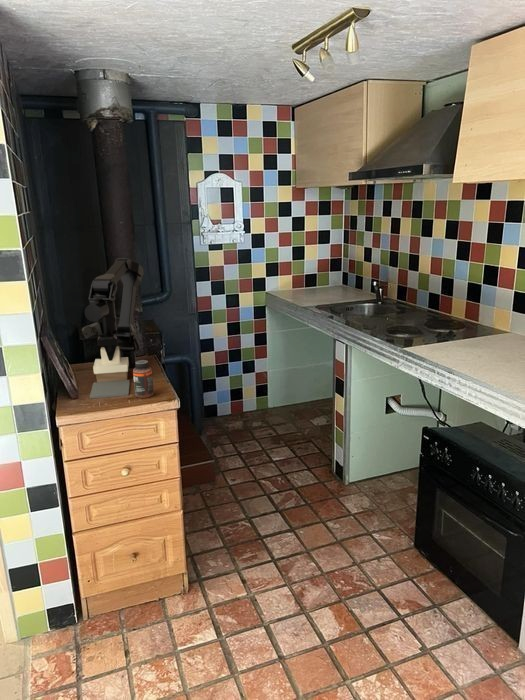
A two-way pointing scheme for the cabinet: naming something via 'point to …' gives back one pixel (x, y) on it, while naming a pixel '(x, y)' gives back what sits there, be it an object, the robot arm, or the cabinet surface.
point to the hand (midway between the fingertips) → (110, 359)
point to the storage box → (111, 376)
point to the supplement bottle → (143, 379)
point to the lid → (110, 363)
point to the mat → (110, 389)
